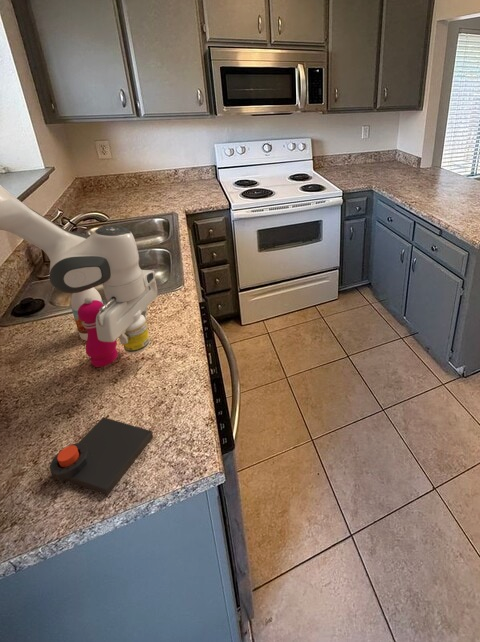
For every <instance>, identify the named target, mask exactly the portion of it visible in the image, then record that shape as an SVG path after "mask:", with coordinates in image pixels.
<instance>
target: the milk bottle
mask: <svg viewBox="0 0 480 642" xmlns="http://www.w3.org/2000/svg"><path fill="white" fill-rule="evenodd" d="M87 297H91V298H92V299H93V300H98V301H100V302H102V303H103V304H104V302H103V299H102V296H101V294H100V292H99V291H98V290H97V289H96V288H95V287H93V288H91V289H88V290H85V291H82V292H78V293H71V297H70V307H71V311H72V316H73V319H74V321H75V325H76V329H77V331H78V335H79V337H80V339H81V340H83V341H86V342H87V338H88V332H87V328H85V327H84V324H83V321H82V320H80V319H79V317H78V309H79V308H80V306H81V305H82V304H83V303H85V302H84V300H85V299H86V298H87Z"/></svg>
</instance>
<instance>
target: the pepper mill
mask: <svg viewBox="0 0 480 642" xmlns="http://www.w3.org/2000/svg"><path fill="white" fill-rule="evenodd" d="M84 302H85V303H83V304H82V305H81V306H80V308H79V309H78V317H79V319H80V320H82V321H83V324H84V327H85V328H87V332H88V338H87V341H86V343H85V353H86V355H87V357H89V358H90V362H91V365H92V366H93V367H96V368H103V367H106V366H108V365H111V364H112V363H113V362H114V361H115V360H116V359H117V358H118V355H119V354H118V353H119V352H118V350H117V345H118V343H117V339H116V340H115V341H114V342H103V341H100V340H99V339H98V336H97V330H96V316H97V314H98V312H99V311H100V310H99V309H100V308H101V307H102V306H103V305H104V302H103V301H102V302H103V303H102V302H100V301H98V300H93V299H92V298H91V297H87V298H86V299H85V300H84Z"/></svg>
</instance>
